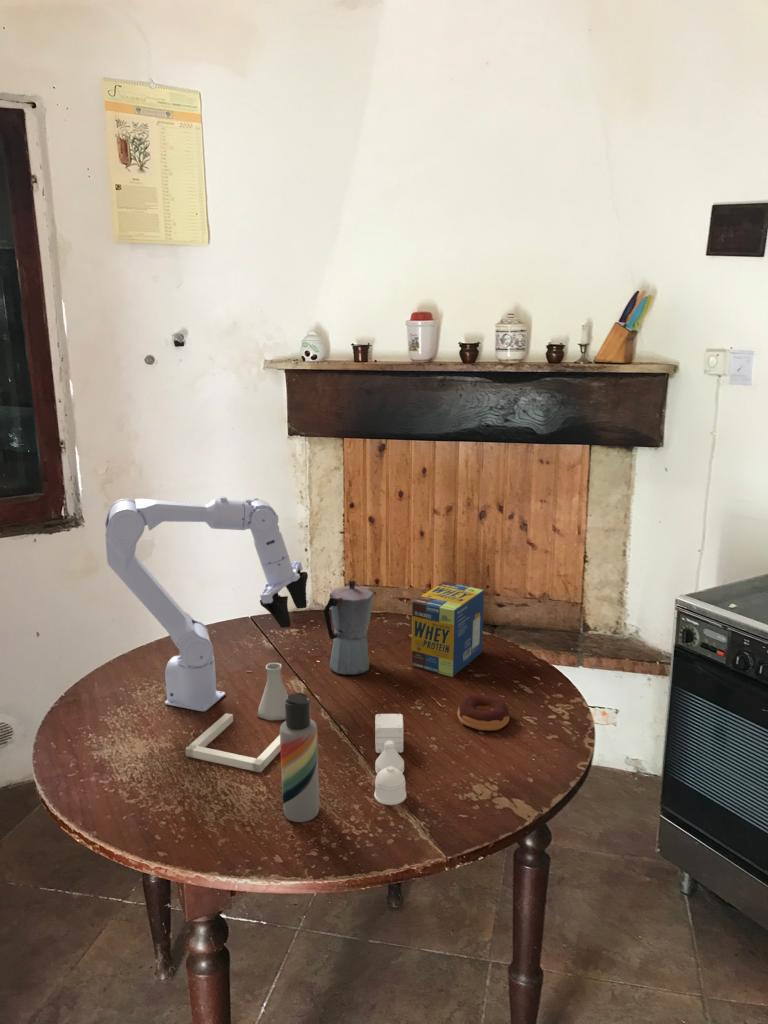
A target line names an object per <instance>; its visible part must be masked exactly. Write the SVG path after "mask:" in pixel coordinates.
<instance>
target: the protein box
mask: <svg viewBox="0 0 768 1024" xmlns="http://www.w3.org/2000/svg"><path fill="white" fill-rule="evenodd" d="M484 600H485V590H484V589H481V588H477V587H472V586H467V585H462V584H458V583H452V582H448V581H443V582H440V583H439V584H438V585H437V586H435V587H432V589H430V590H428V591H427V592H425V593H424V594H422V595H420V596H419V597H417V598H416V599H413V600H412V601H411V667H415V668H417V669H421V670H424V671H425V670H426V671H429V672H432V673H435V674H436V673H437V674H440V675H443V676H448V677H451V678H453V677H454V676H455V675H457V674H458V673H459V672H460V671H461V670H463V669H464V668H465V667H466V666H468V665H469V664H470V663H471V662H472V661H473V660H475V659H476V658H477V657H478V656H479V655H481V654H482V653H483V635H484V634H483V633H484V605H485V604H484V602H485V601H484Z"/></svg>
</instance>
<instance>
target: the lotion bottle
mask: <svg viewBox="0 0 768 1024" xmlns="http://www.w3.org/2000/svg"><path fill="white" fill-rule="evenodd" d="M285 714H286V719H285V720H284V721H283V722H282V723H281V724H280V727H279V735H280V747H281V751H280V765H281V766H280V767H281V768H280V769H281V770H280V771H281V786H282V788H281V789H282V793H281V795H282V810H283V815H284V817H285V818H286V819H287V820H289V821H291V822H295V823H305V822H308V821H312V820H313V819H315V818H316V817H317V816H318V815H319V811H320V788H319V787H320V784H319V783H320V782H319V780H320V779H319V748H318V747H319V746H318V744H319V743H318V726H317V723H316V722H315V721H314V720H313V719H312V718H311V699H310V697H309V696H308V695H306V694H304V693H301V692H295V693H292V694H288V697H287V698H286V700H285Z"/></svg>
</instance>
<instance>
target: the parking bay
mask: <svg viewBox="0 0 768 1024" xmlns="http://www.w3.org/2000/svg"><path fill="white" fill-rule="evenodd" d="M233 722H234V714H232V713H228V712H226V713H224V714H223V715H222V716H220V717H219V719H218V720H216V721H215V722H214V723H213V724H212V725H211V726H209V728H207V729H206V730H205V731H203V732H202V733H201V734H200V735H199V736H198V737H197V738H195V740H193V741H192V742H191V743H190V744H189V745H188V746H186V748H185V756H186V757H187V758H192V759H197V760H202V761H206V762H211V763H217V764H220V765H223V766H225V765H226V766H230V767H234V768H238V769H243V770H248V771H251V772H256V773H262V772H263V771H264V770H265V768H267V766H268V765H269V764H270V763H271V762H272V761H273V760H274V759H275V757H277V755H278V754H279V753H281V747H280V734H278V736H277V737H276V738H275V739H274V740H273V741H272V742H271V743H270V744H269V745H268V747H266V748H265V749H264V750H263V752H262V753H260V754H259V755H258V757H257V758H256V757H253V756H252V757H251V756H246V755H241V754H237V753H233V752H232V753H231V752H228V751H223V750H219V749H213V748H208V747H207V746H208V745H209V744H210V743H211V742H212V741H214V740H215V739H216V737H218V736H219V735H220V734H221V733H222V732H224V731H225V729H227V728H228V727H229V726H230V725H231V724H233Z"/></svg>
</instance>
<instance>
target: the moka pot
mask: <svg viewBox="0 0 768 1024" xmlns="http://www.w3.org/2000/svg"><path fill="white" fill-rule="evenodd" d="M356 582H357V581H355V580H349V581H348V586H342V587H336V588H334V589H333V590H331V592H330V593H329V598H328V599H329V600H328V601H327V603H326V605H325V607H324V609H323V613H324V614H323V615H324V618H325V624H326V628H327V632H328V637H329V639H330V640H333V644H332V649H331V655H330V662H329V668H330V670H331V671H333V672H334V673H336V674H340V675H345V676H346V675H348V676H350V675H360V674H363V673H365V672H367V671H369V670H370V661H369V650H368V639H367V634H368V627H369V625H370V620H371V613H372V608H373V607H372V606H373V600H374V599H373V598H374V594H375V593H374V592H373V591H371V590H372V588H371V587H368V586H356V584H357V583H356ZM330 609H331V615H330ZM331 620H332V623H331ZM332 626H333V627H334V629H332ZM333 630H334V631H333Z"/></svg>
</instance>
